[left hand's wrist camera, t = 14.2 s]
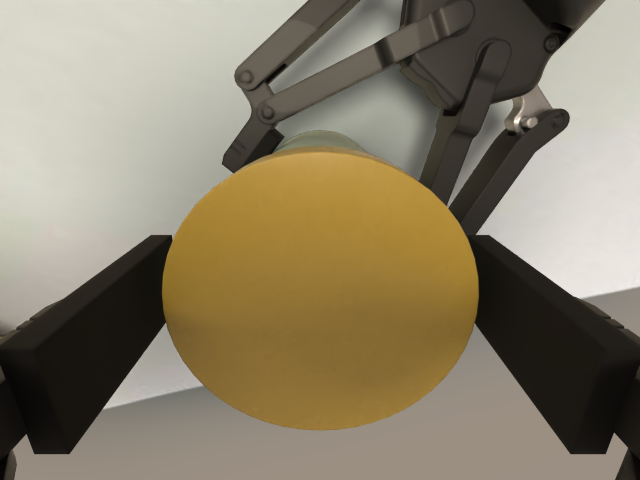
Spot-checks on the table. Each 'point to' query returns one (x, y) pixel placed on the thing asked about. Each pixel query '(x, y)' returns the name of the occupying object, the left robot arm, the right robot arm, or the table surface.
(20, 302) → the table surface
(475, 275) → the lid
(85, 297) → the left robot arm
